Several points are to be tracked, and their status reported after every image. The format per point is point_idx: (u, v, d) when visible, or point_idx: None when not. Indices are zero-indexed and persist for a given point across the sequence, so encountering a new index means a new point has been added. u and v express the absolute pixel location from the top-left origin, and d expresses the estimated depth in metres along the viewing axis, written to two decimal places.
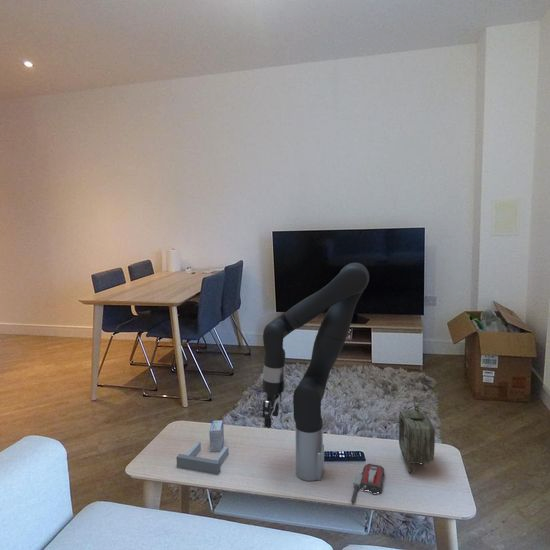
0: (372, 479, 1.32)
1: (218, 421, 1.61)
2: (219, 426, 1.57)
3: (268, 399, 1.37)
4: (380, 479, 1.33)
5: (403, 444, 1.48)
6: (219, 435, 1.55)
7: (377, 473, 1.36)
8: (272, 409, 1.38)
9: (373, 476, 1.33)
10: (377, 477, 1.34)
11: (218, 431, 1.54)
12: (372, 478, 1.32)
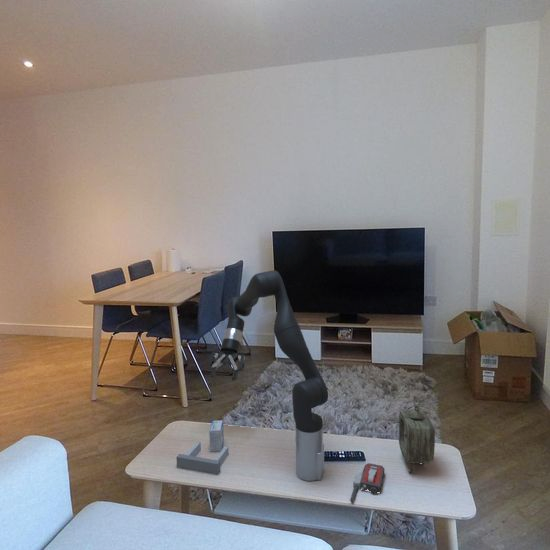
0: (372, 479, 1.32)
1: (218, 421, 1.61)
2: (219, 426, 1.57)
3: None
4: (380, 479, 1.33)
5: (403, 444, 1.48)
6: (219, 435, 1.55)
7: (377, 473, 1.36)
8: None
9: (373, 476, 1.33)
10: (377, 477, 1.34)
11: (218, 431, 1.54)
12: (372, 478, 1.32)
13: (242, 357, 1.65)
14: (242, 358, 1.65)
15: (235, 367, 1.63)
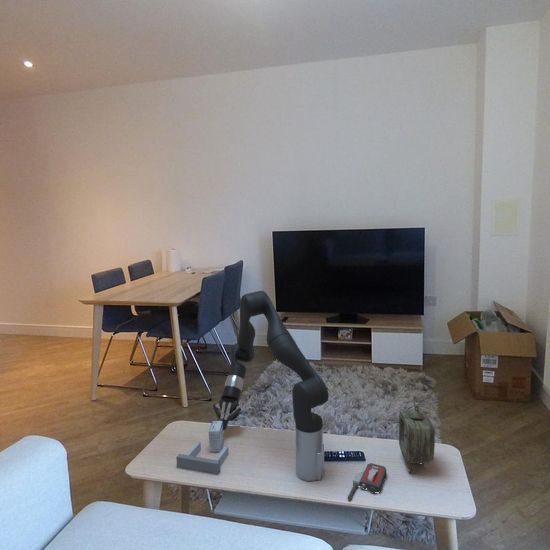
0: (371, 478, 1.32)
1: (218, 421, 1.61)
2: (218, 427, 1.57)
3: None
4: (380, 479, 1.34)
5: (403, 444, 1.48)
6: (218, 436, 1.54)
7: (378, 473, 1.36)
8: None
9: (373, 475, 1.33)
10: (377, 477, 1.34)
11: (217, 432, 1.54)
12: (371, 477, 1.32)
13: (238, 410, 1.65)
14: (237, 411, 1.65)
15: (226, 417, 1.64)
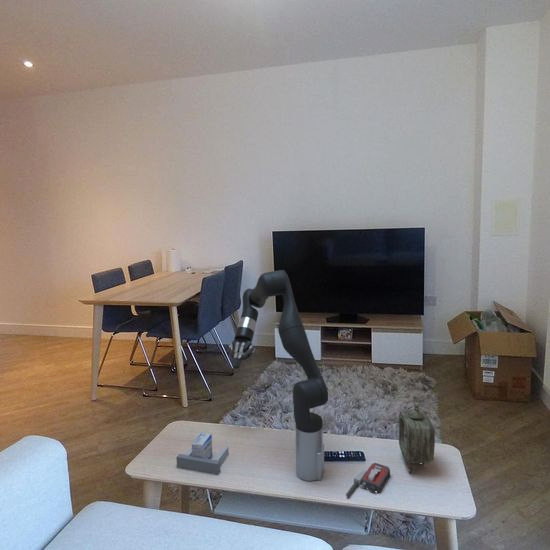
0: (372, 477, 1.32)
1: (206, 434, 1.51)
2: (203, 440, 1.47)
3: None
4: (381, 479, 1.33)
5: (403, 444, 1.48)
6: (201, 450, 1.45)
7: (380, 473, 1.36)
8: None
9: (374, 475, 1.33)
10: (379, 476, 1.34)
11: (200, 446, 1.45)
12: (372, 476, 1.33)
13: (251, 349, 1.67)
14: (251, 350, 1.67)
15: (239, 355, 1.66)
